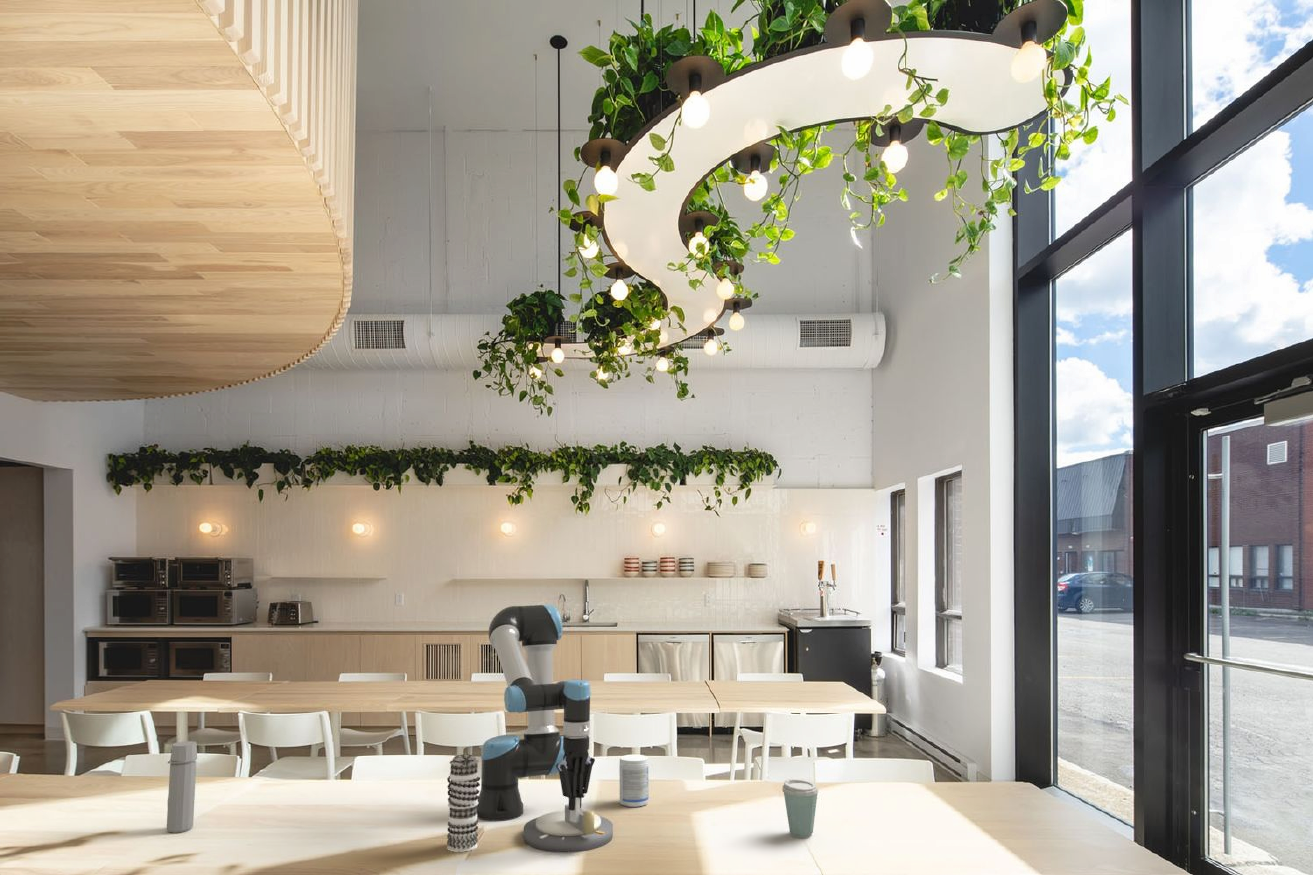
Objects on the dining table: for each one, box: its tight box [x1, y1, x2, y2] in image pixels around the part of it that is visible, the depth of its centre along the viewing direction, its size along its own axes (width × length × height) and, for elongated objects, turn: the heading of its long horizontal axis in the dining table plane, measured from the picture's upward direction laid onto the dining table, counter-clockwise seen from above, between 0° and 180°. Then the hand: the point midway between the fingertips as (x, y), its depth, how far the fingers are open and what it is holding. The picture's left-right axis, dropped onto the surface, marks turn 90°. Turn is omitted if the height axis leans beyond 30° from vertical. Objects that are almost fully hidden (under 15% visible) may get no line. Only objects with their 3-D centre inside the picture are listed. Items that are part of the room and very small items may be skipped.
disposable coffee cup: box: [782, 778, 819, 839], centre depth 271 cm, size 11×11×15 cm
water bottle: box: [166, 740, 198, 834], centre depth 275 cm, size 9×8×25 cm
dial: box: [536, 804, 601, 836], centre depth 266 cm, size 24×19×7 cm
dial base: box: [522, 815, 614, 853], centre depth 268 cm, size 26×26×3 cm
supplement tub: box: [619, 754, 650, 808], centre depth 302 cm, size 10×10×15 cm
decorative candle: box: [446, 753, 481, 853], centre depth 260 cm, size 9×9×25 cm
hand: (574, 821), depth 260 cm, fingers closed
